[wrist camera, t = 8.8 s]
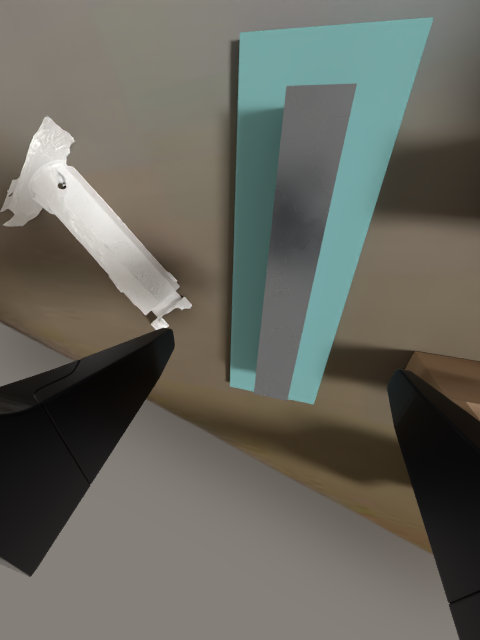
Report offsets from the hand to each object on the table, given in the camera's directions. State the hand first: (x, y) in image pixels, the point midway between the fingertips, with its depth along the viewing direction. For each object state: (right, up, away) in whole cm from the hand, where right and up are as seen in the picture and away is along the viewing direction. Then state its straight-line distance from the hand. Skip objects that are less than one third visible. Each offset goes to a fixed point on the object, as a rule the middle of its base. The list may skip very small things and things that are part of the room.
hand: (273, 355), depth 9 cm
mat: (+3, +5, +9) cm, 10 cm away
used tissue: (-14, +8, +12) cm, 20 cm away
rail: (+2, +5, +8) cm, 10 cm away
